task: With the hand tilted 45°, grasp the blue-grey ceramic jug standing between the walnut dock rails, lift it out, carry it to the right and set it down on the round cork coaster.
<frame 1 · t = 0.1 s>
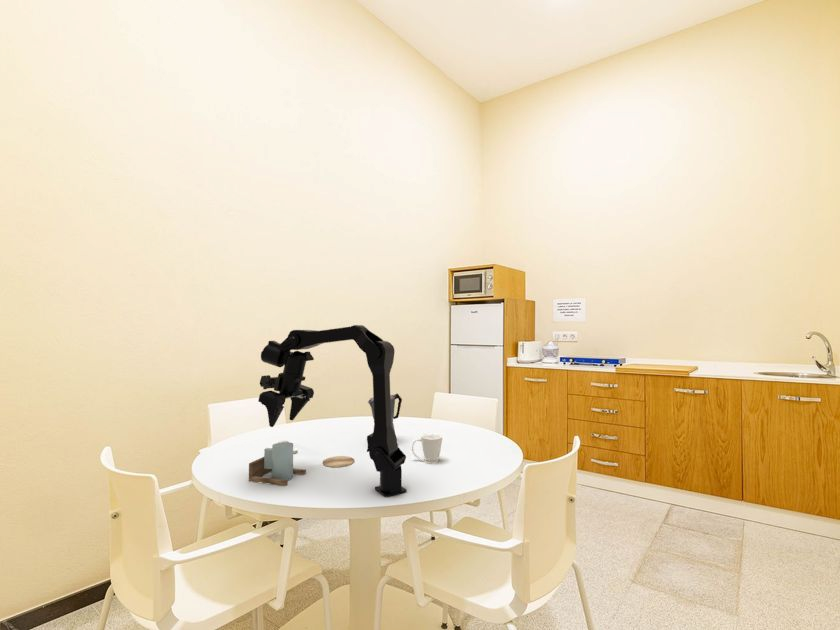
hand: (281, 423, 123), 15 cm above the table, tool pointing down, fingers open, 9 cm apart
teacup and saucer: (283, 456, 144), on the table
moka pot: (384, 444, 158), on the table
dock: (282, 477, 122), on the table
coaster: (338, 462, 136), on the table
jug: (282, 478, 122), on the table
cup: (427, 461, 137), on the table
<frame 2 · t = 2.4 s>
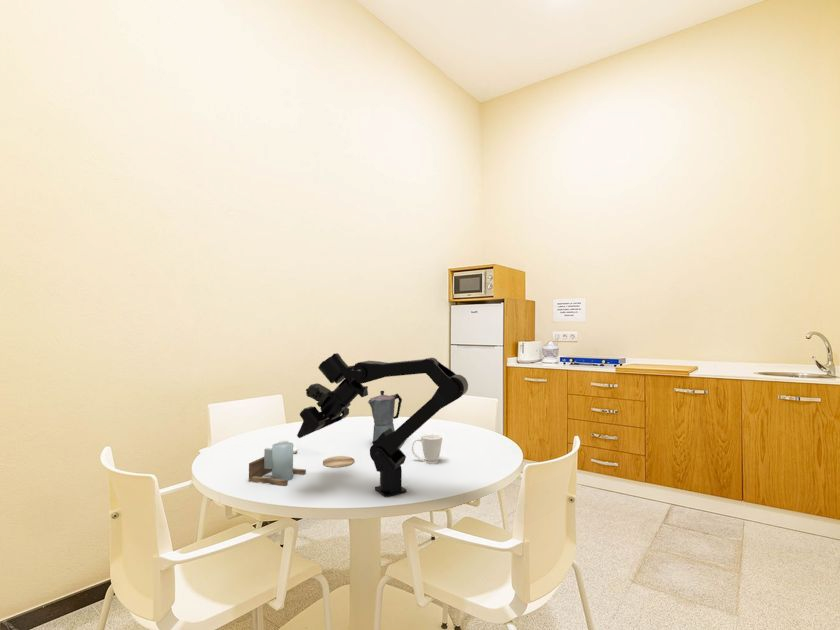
hand: (307, 432, 120), 13 cm above the table, tool tilted 45°, fingers open, 9 cm apart
nothing on the table moved.
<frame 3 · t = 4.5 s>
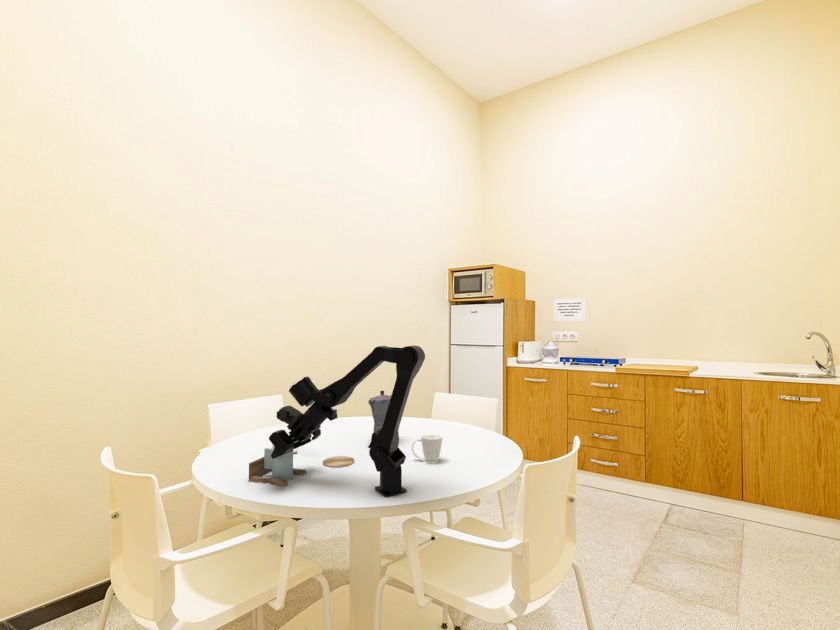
hand: (278, 454, 122), 7 cm above the table, tool tilted 45°, fingers closed on jug, 6 cm apart
jug: (282, 478, 122), on the table, touching gripper
everything else where it was.
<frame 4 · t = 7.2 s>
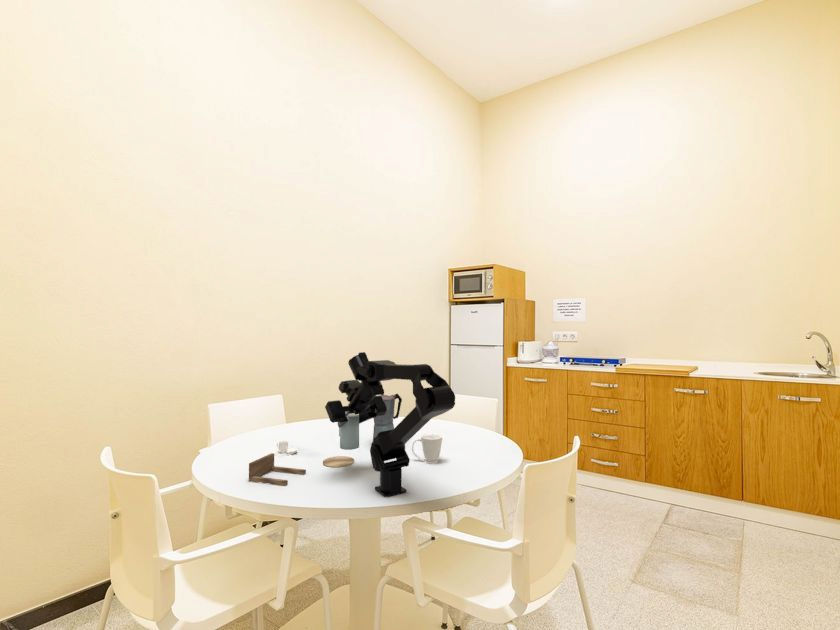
hand: (347, 424, 131), 13 cm above the table, tool tilted 45°, fingers closed on jug, 6 cm apart
jug: (349, 447, 130), point 7 cm above the table, touching gripper
everything else where it was.
when the fingers open (8 cm above the table, at t = 9.5 s): jug stays where it is, resting on coaster.
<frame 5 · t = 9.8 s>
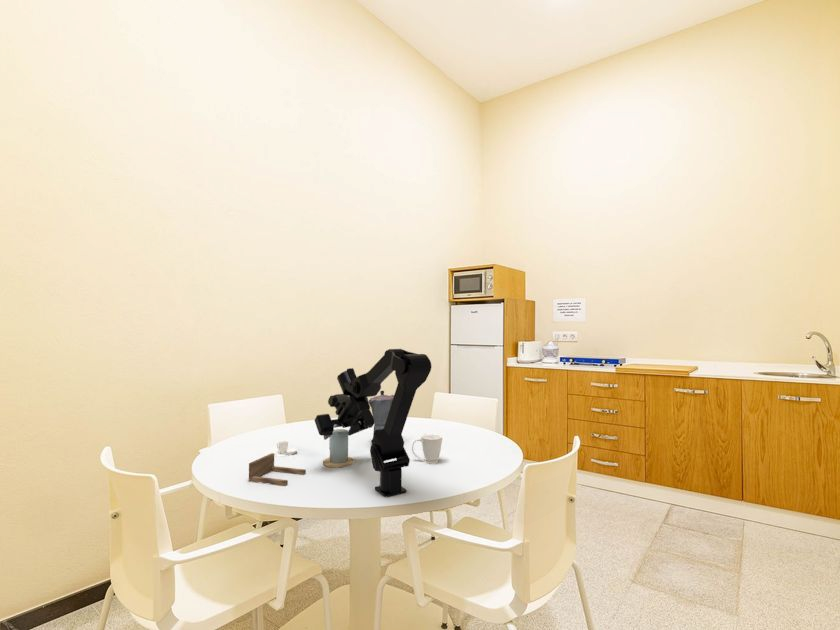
hand: (336, 436, 137), 8 cm above the table, tool tilted 45°, fingers open, 8 cm apart
jug: (338, 460, 136), point 1 cm above the table, touching coaster
everything else where it was.
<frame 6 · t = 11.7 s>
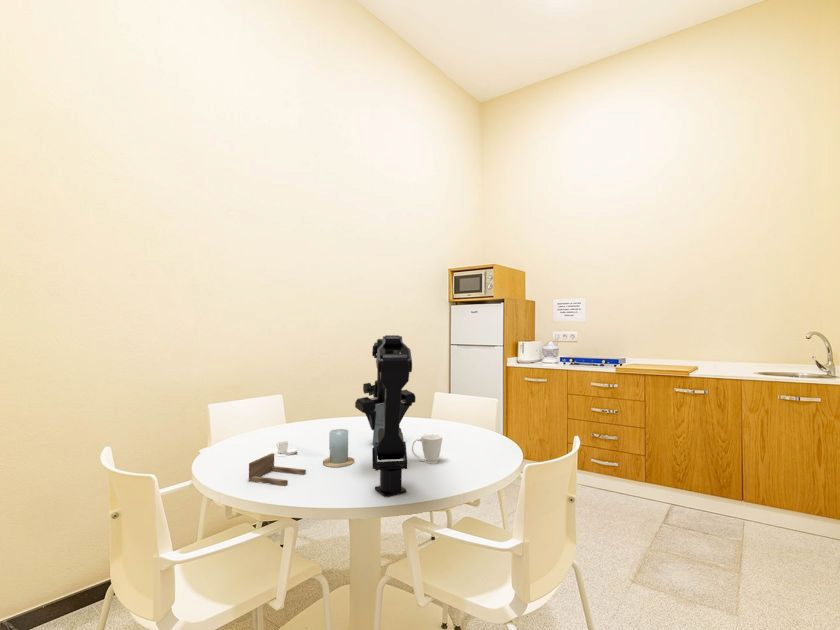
hand: (385, 426, 132), 12 cm above the table, tool pointing down, fingers open, 9 cm apart
nothing on the table moved.
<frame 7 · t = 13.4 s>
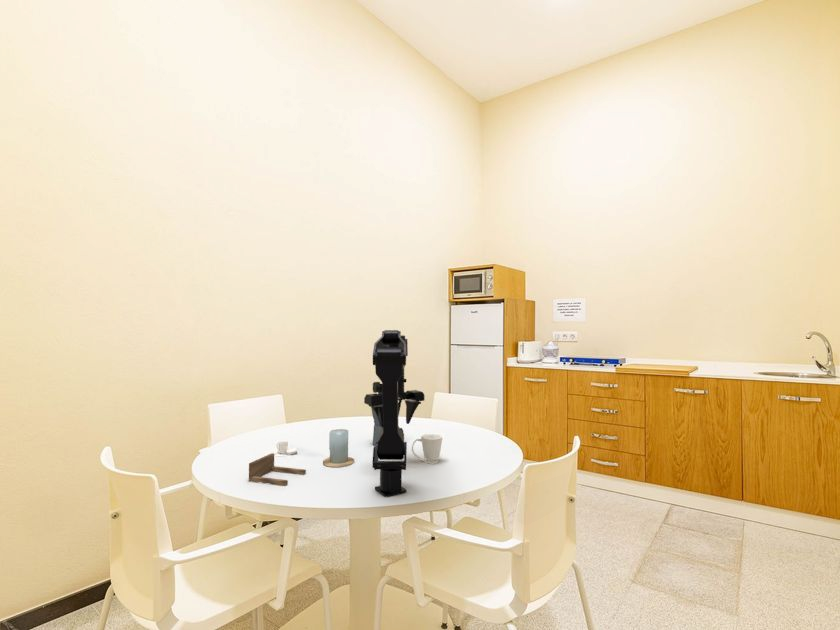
hand: (394, 425, 131), 13 cm above the table, tool pointing down, fingers open, 9 cm apart
at the end: jug 0.2 cm from the coaster (horizontally); jug tilted 0°; jug point 0.5 cm above the table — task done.
